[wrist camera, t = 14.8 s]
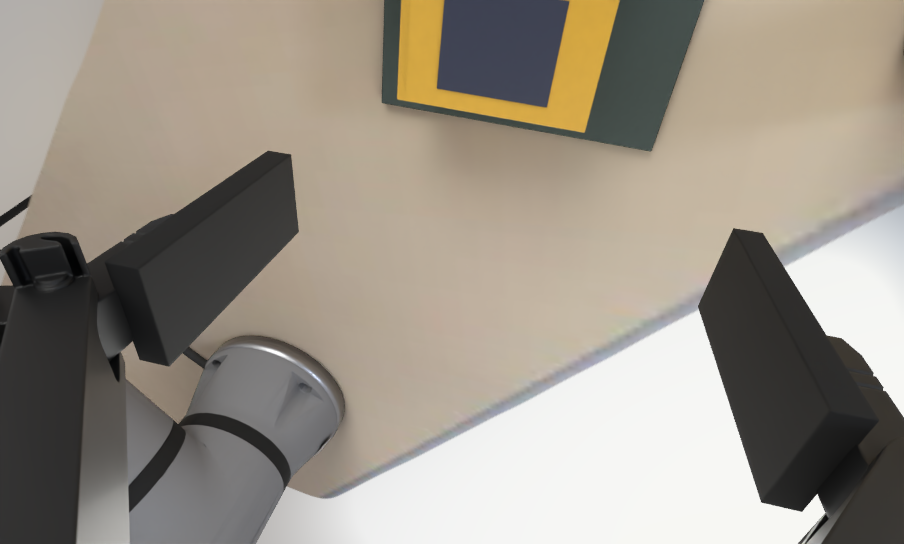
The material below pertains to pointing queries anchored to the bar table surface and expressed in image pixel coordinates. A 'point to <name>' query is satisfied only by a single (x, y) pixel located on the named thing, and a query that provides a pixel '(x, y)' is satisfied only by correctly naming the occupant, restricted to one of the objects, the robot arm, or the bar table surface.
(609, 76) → the desk mat
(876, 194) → the bar table surface
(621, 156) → the bar table surface
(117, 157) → the bar table surface
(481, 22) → the yellow box with panel
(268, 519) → the robot arm
